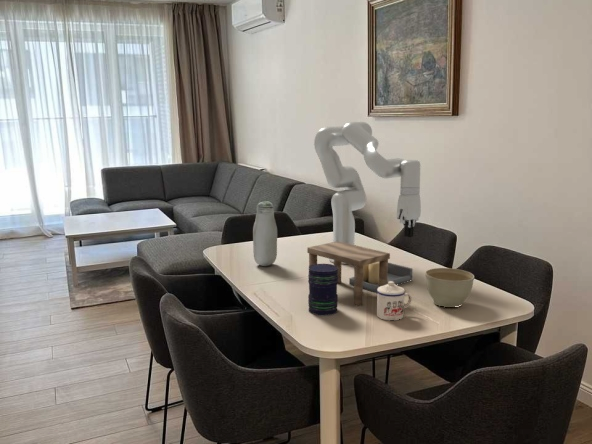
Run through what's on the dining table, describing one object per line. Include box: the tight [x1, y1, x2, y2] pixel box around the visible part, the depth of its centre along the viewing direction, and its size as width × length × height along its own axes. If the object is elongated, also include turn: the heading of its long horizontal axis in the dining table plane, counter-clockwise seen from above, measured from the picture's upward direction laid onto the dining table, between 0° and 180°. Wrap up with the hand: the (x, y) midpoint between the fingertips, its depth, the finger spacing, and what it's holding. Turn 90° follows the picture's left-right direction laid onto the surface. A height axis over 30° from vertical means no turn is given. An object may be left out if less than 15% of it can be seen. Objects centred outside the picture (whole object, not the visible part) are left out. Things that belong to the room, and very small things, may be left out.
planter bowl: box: [425, 267, 475, 308], centre depth 195 cm, size 16×16×11 cm
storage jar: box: [307, 263, 339, 317], centre depth 189 cm, size 10×10×15 cm
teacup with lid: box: [376, 281, 413, 321], centre depth 184 cm, size 12×9×12 cm
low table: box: [306, 241, 391, 307], centre depth 208 cm, size 16×26×16 cm, turn 41°
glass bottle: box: [252, 200, 278, 267], centre depth 244 cm, size 10×10×28 cm
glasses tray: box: [348, 262, 413, 293], centre depth 220 cm, size 22×13×10 cm, turn 131°
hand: (408, 236), depth 228 cm, fingers closed
